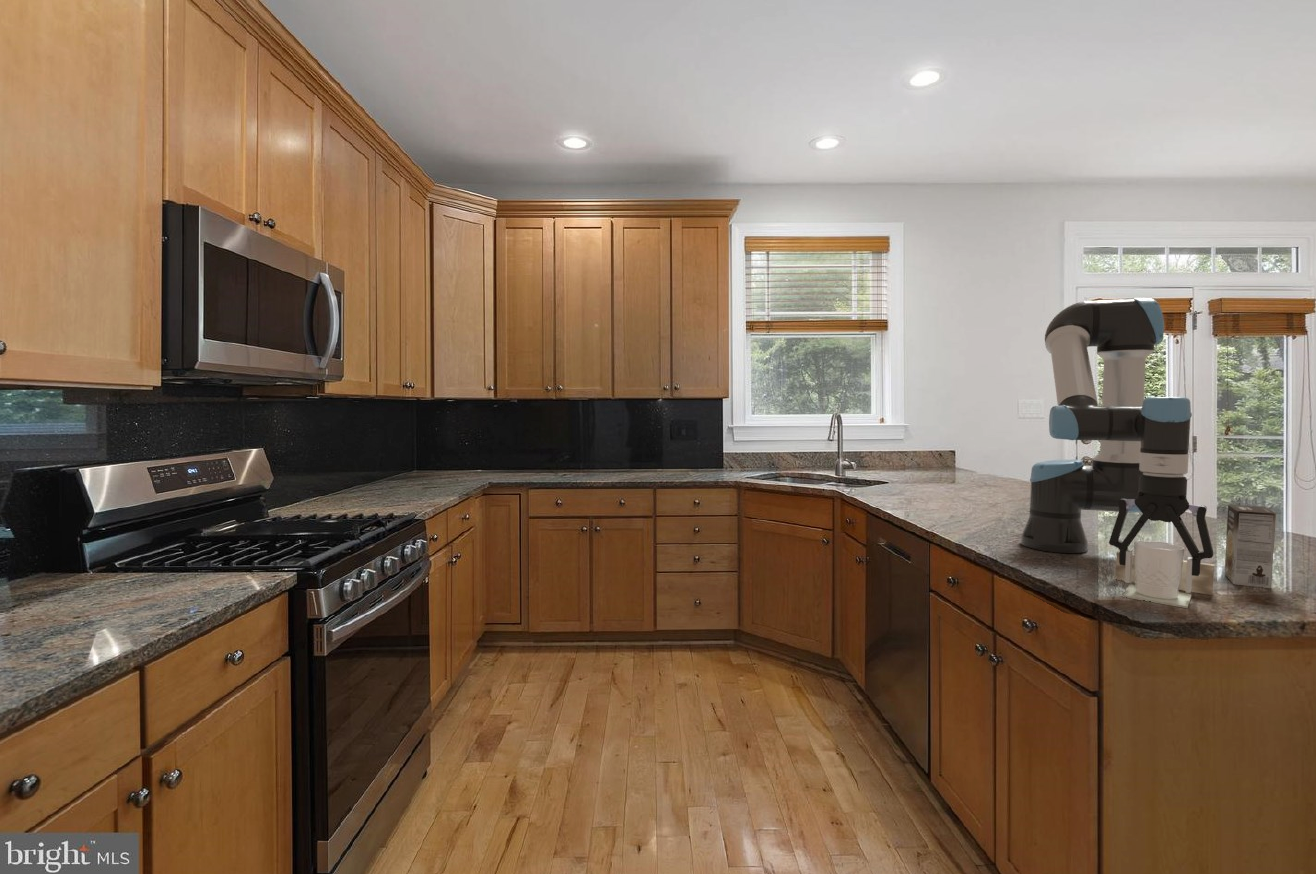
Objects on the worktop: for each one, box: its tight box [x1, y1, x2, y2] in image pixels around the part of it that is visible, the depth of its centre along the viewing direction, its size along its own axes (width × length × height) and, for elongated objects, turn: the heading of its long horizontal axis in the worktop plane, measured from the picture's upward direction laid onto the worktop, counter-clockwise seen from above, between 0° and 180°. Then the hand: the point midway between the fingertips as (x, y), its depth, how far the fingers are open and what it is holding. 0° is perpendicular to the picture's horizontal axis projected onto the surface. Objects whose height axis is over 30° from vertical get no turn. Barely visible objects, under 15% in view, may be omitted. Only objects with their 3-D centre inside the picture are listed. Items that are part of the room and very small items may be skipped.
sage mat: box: [1122, 583, 1193, 609], centre depth 126 cm, size 10×10×1 cm
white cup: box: [1133, 540, 1185, 599], centre depth 126 cm, size 8×8×10 cm
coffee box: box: [1224, 504, 1277, 589], centre depth 136 cm, size 9×6×16 cm
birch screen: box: [1115, 551, 1215, 596], centre depth 133 cm, size 16×2×6 cm, turn 46°
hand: (1157, 586), depth 126 cm, fingers open, 9 cm apart
